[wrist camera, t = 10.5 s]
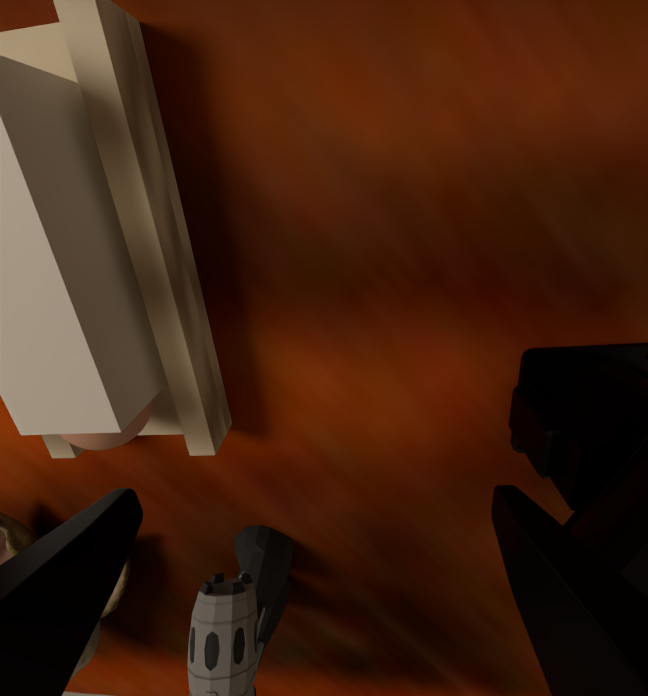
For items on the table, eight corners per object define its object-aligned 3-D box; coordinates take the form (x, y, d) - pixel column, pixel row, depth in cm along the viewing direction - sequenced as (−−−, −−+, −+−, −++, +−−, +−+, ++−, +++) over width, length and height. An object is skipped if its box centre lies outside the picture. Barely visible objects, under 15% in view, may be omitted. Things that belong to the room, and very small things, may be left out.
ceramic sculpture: (-88, 733, 26) (-117, 590, 20) (17, 606, 34) (15, 480, 28) (65, 768, 26) (76, 638, 21) (132, 635, 34) (152, 517, 29)
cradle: (-71, 56, 17) (-156, 31, 14) (138, 21, 15) (91, -14, 13) (86, 427, 24) (52, 458, 22) (232, 423, 23) (215, 455, 21)
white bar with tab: (-30, 73, 16) (-263, 7, 10) (77, 56, 15) (-102, -24, 9) (104, 415, 23) (14, 497, 17) (182, 412, 22) (117, 496, 16)
